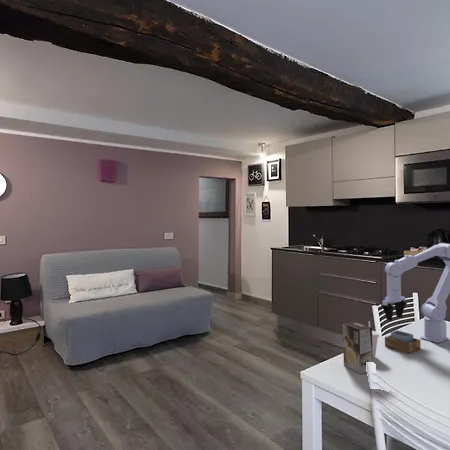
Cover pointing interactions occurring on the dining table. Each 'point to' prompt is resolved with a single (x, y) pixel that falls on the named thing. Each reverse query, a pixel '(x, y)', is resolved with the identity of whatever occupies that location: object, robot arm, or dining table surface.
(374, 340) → the smoothie
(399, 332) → the slate crate
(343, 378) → the dining table surface
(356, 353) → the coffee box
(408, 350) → the walnut crate
